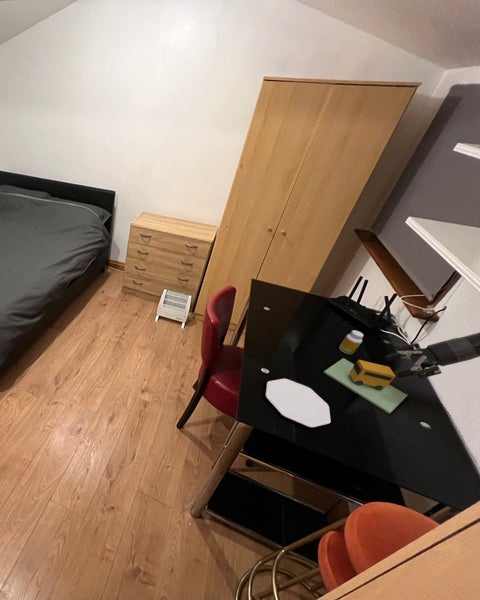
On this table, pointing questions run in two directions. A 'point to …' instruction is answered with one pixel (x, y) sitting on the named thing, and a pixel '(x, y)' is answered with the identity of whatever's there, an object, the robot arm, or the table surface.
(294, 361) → the table surface
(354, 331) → the supplement bottle
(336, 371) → the mat
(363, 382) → the toy bus
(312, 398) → the plate
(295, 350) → the table surface
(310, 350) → the table surface
